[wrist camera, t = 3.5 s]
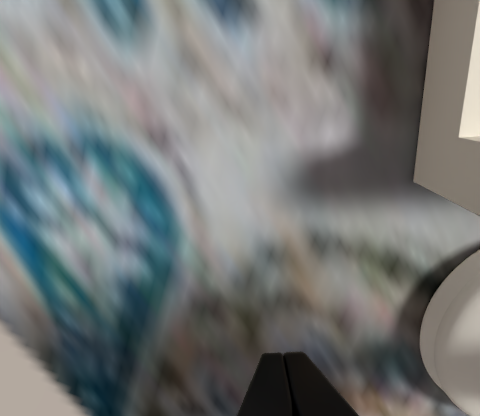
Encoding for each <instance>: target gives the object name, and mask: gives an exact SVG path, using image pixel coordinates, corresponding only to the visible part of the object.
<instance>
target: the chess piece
mask: <svg viewBox="0 0 480 416" xmlns="http://www.w3.org/2000/svg"><path fill="white" fill-rule="evenodd" d="M420 351H421V356H422V360H423V363H424V366H425V368H426V370H427V372H428V373H429V375H430V377H431V378H432V379H433V381H434V382H435V383H436V384H437V385H438V386H439V387H440V388H441V389H442V390H443V391H444V392H445V393H446V394H447V396H448V397H449V398H450V399H451V401H452V402H453V403H454V404H455V405H456V406H457V407H458V408H460V409H461V410H462V411H463V412H465V413H466V414H468V415H469V416H480V250H478V251H476V252H475V253H474V254H472V255H471V256H469V257H468V258H467V259H465V260H464V261H463V262H462V263H461V264H460V265H458V266H457V267H456V268H455V269H454V270H453V271H452V272H451V273H450V274H449V275H448V276H447V278H446V279H445V280H444V281H443V282H442V284H441V285H440V286H439V288H438V289H437V291H436V292H435V294H434V295H433V297H432V299H431V301H430V303H429V305H428V307H427V309H426V311H425V314H424V317H423V321H422V325H421V330H420Z"/></svg>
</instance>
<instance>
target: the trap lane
mask: <svg viewBox="0 0 480 416" xmlns="http://www.w3.org/2000/svg"><path fill="white" fill-rule="evenodd" d="M413 182H415V183H417V184H419V185H421V186H423V187H425V188H427V189H429V190H431V191H433V192H435V193H436V194H438V195H440V196H442V197H444V198H446V199H448V200H450V201H452V202H454V203H456V204H458V205H460V206H462V207H463V208H465V209H467V210H469V211H471V212H473V213H475V214H477V215H479V216H480V0H434V7H433V16H432V25H431V33H430V42H429V50H428V59H427V68H426V76H425V85H424V93H423V102H422V111H421V119H420V128H419V136H418V145H417V154H416V162H415V171H414V180H413Z"/></svg>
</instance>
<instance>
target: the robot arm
mask: <svg viewBox="0 0 480 416" xmlns="http://www.w3.org/2000/svg"><path fill="white" fill-rule="evenodd" d="M237 416H359V415H358V414H357V413H356V412H355V411H354V410H353V408H352V407H351V406H350V405H349V404H348V403H347V401H346V400H345V399H344V398H343V397H342V396H341V394H340V393H339V392H338V391H337V390H336V389H335V387H334V386H333V385H332V384H331V383H330V382H329V380H328V379H327V378H326V377H325V376H324V375H323V373H322V372H321V371H320V370H319V369H318V368H317V366H316V365H315V364H314V363H313V362H312V361H311V359H310V358H309V357H308V356H307V355H306V354H305V353H304V352H286V353H284V355H283V354H282V353H279V352H278V353H264V354H263V355H262V356H261V358H260V361H259V363H258V365H257V368H256V370H255V373H254V375H253V378H252V380H251V382H250V385H249V387H248V390H247V392H246V395H245V397H244V400H243V402H242V404H241V407H240V409H239V412H238V414H237Z"/></svg>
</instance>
